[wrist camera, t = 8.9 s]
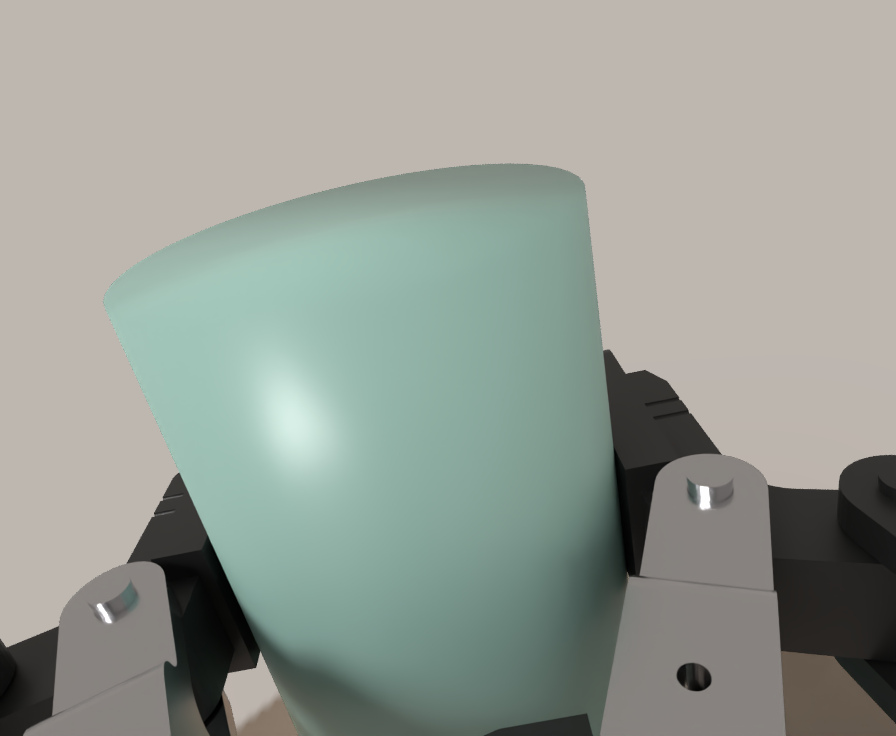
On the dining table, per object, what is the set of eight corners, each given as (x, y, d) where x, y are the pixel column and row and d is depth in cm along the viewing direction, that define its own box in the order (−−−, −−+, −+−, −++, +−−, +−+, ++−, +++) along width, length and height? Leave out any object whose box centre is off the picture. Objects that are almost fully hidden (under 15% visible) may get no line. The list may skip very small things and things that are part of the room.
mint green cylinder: (342, 1000, 10) (-4, 377, 6) (362, 689, 16) (187, 219, 11) (703, 937, 10) (659, 239, 6) (604, 642, 15) (537, 144, 11)
